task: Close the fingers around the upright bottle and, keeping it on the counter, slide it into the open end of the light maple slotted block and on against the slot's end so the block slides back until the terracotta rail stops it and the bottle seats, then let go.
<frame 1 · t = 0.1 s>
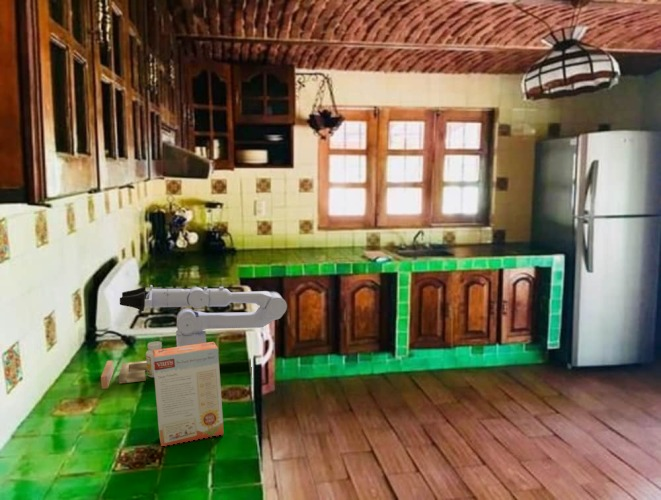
hand: (120, 298, 175), 22 cm above the worktop, tool horizontal, fingers open, 7 cm apart
cracker box: (191, 437, 131), on the worktop
slot block: (133, 371, 169), point 2 cm above the worktop, slide at 0.0 cm
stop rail: (108, 379, 167), on the worktop
supplement bottle: (157, 375, 171), on the worktop
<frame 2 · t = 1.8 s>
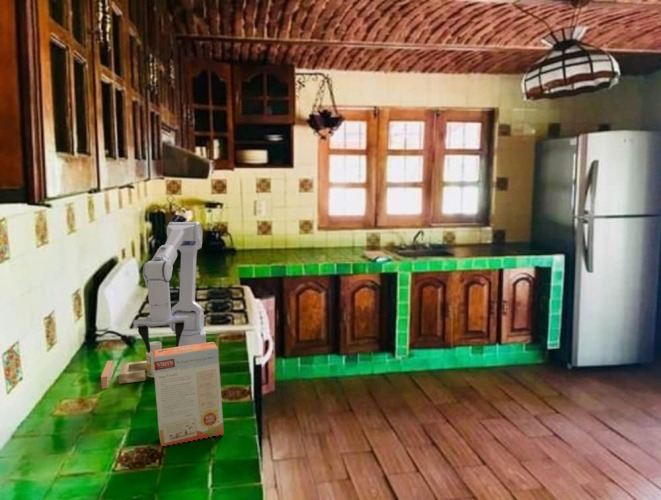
hand: (163, 350, 162), 10 cm above the worktop, tool pointing down, fingers open, 7 cm apart
nothing on the worktop moved.
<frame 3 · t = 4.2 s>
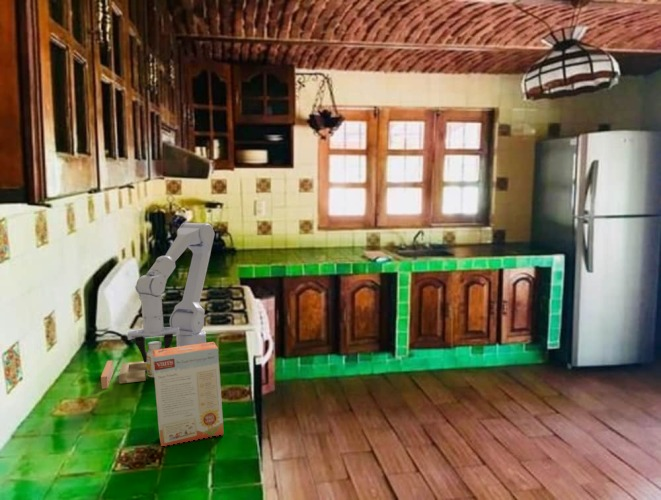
hand: (155, 360, 170), 4 cm above the worktop, tool pointing down, fingers closed on supplement bottle, 5 cm apart
supplement bottle: (157, 375, 171), on the worktop, touching gripper
everything else where it was.
when the fingers open (4 cm above the worktop, at t = 4.6 s): supplement bottle moves 8 cm, on the worktop.
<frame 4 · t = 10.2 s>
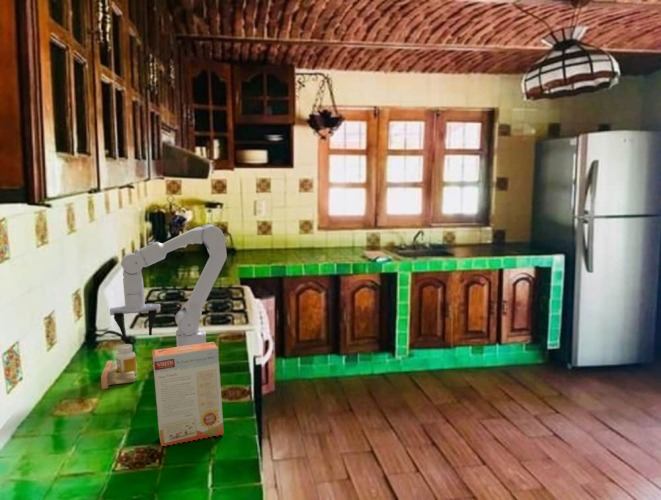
hand: (137, 335, 176), 10 cm above the worktop, tool pointing down, fingers open, 7 cm apart
slot block: (122, 372, 168), point 2 cm above the worktop, slide at 3.0 cm, touching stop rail
supplement bottle: (127, 378, 169), on the worktop
everything else where it was.
at the end: supplement bottle 0.1 cm from the target spot on the slot block, point 0.0 cm above the slot block's base; slot block slide at 3.0 cm; supplement bottle tilted 0° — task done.
